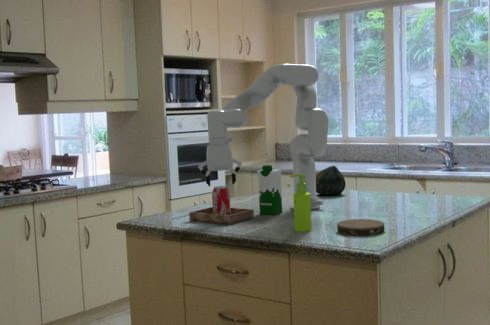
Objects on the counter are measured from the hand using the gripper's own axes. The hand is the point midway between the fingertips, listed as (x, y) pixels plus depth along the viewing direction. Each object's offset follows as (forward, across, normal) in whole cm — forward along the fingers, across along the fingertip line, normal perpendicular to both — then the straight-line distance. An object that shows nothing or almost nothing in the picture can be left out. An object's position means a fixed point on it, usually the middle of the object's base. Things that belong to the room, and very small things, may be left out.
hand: (221, 184), depth 246 cm
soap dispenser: (+14, -25, +31) cm, 42 cm away
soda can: (+13, +1, 0) cm, 13 cm away
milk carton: (+15, -20, -7) cm, 26 cm away
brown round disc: (+15, -44, +39) cm, 61 cm away
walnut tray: (+14, +1, 0) cm, 14 cm away
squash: (+16, -56, -47) cm, 75 cm away
